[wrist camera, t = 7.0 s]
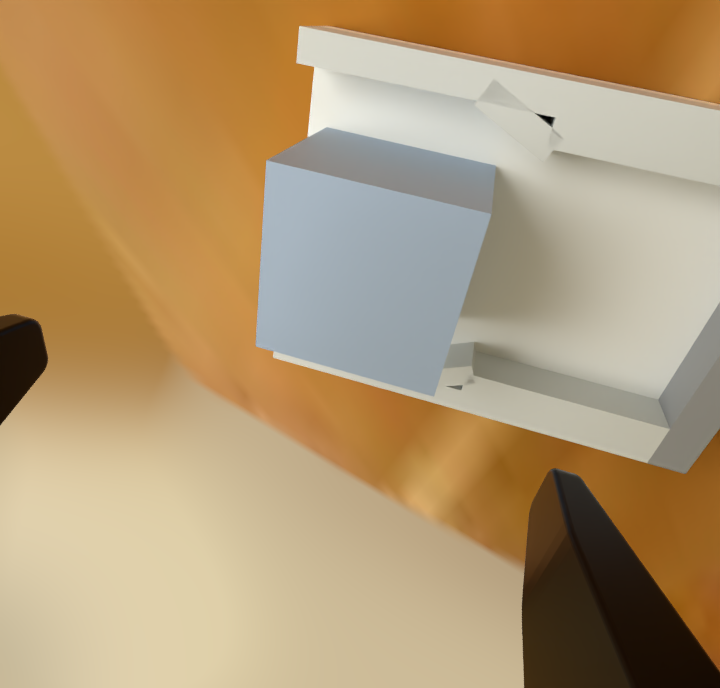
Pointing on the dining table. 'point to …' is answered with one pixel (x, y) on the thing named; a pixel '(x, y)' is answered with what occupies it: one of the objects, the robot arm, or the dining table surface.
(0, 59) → the dining table surface
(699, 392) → the board
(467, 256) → the block
